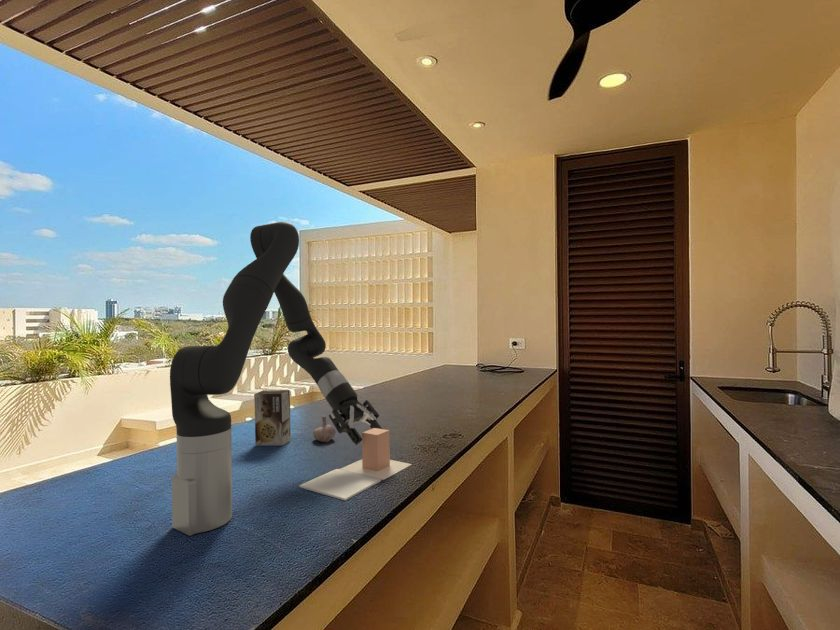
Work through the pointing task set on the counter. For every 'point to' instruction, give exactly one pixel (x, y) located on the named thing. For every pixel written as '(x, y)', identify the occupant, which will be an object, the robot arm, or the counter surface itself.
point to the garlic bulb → (324, 432)
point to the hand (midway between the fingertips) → (370, 438)
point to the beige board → (340, 484)
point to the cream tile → (382, 474)
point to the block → (375, 449)
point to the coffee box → (272, 417)
